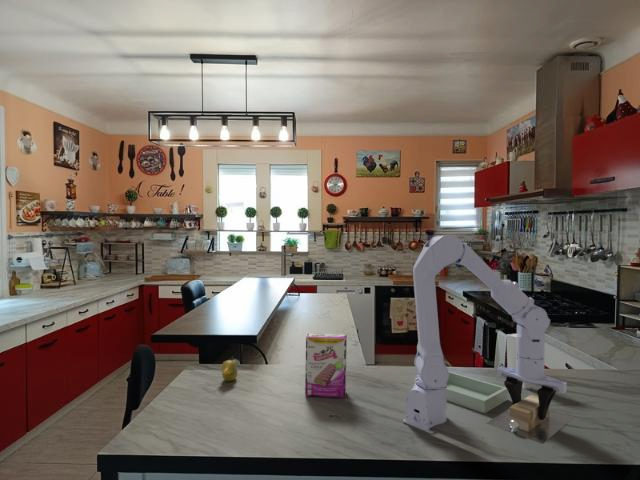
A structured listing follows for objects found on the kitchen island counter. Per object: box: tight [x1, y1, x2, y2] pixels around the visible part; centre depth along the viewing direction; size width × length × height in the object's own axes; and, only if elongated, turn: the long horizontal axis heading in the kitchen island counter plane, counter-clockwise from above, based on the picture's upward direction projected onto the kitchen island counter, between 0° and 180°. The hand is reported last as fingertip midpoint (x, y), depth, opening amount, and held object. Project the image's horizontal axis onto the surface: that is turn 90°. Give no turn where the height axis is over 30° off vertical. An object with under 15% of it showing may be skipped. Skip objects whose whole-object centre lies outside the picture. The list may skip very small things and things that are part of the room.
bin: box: [447, 371, 509, 414], centre depth 107 cm, size 13×19×4 cm
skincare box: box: [506, 333, 542, 391], centre depth 116 cm, size 8×6×15 cm
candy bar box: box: [304, 332, 348, 399], centre depth 109 cm, size 11×5×16 cm, turn 84°
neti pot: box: [220, 359, 238, 382], centre depth 120 cm, size 4×15×6 cm, turn 1°
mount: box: [485, 407, 573, 445], centre depth 92 cm, size 18×12×4 cm, turn 131°
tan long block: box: [509, 394, 550, 432], centre depth 92 cm, size 12×4×4 cm, turn 131°
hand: (529, 414), depth 92 cm, fingers open, 5 cm apart
